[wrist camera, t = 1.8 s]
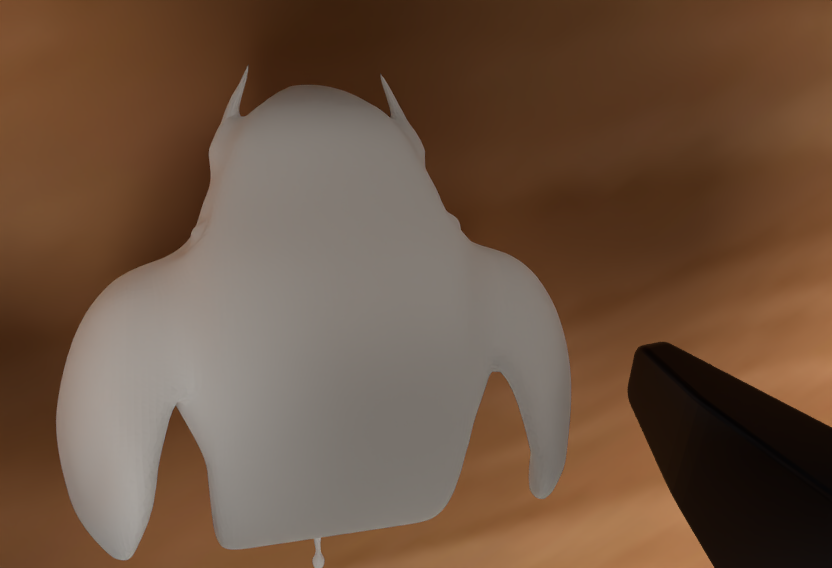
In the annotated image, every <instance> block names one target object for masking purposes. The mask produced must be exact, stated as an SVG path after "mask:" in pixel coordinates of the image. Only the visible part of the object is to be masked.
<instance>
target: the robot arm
mask: <svg viewBox="0 0 832 568" xmlns="http://www.w3.org/2000/svg"><path fill="white" fill-rule="evenodd" d="M628 398H629V402H630V404H631V407H632V409H633V411H634V413H635V416H636V418H637V420H638V422H639V424H640V427H641V429H642V431H643V433H644V435H645V438H646V440H647V442H648V444H649V447H650V449H651V451H652V453H653V455H654V458H655V460H656V462H657V464H658V466H659V469H660V471H661V473H662V475H663V478H664V480H665V482H666V484H667V486H668V488H669V490H670V492H671V494H672V496H673V498H674V499H675V501H676V503H677V505H678V507H679V508H680V510H681V512H682V514H683V515H684V517H685V519H686V520H687V522H688V524H689V525H690V527H691V529H692V531H693V532H694V534H695V536H696V537H697V539H698V541H699V542H700V544H701V546H702V548H703V549H704V551H705V553H706V554H707V556H708V558H709V559H710V561H711V563H712V564H713V566H714V568H832V427H830V426H828V425H826V424H824V423H822V422H820V421H818V420H816V419H814V418H812V417H810V416H808V415H807V414H805V413H803V412H801V411H799V410H797V409H795V408H793V407H791V406H789V405H787V404H785V403H783V402H782V401H780V400H778V399H776V398H774V397H772V396H770V395H768V394H766V393H764V392H762V391H760V390H758V389H757V388H755V387H753V386H751V385H749V384H747V383H745V382H743V381H741V380H739V379H737V378H735V377H733V376H731V375H730V374H728V373H726V372H724V371H722V370H720V369H718V368H716V367H714V366H712V365H710V364H708V363H706V362H705V361H703V360H701V359H699V358H697V357H695V356H693V355H691V354H689V353H687V352H685V351H683V350H681V349H680V348H678V347H676V346H674V345H672V344H670V343H667V342H658V343H652V344H647V345H642V346H640V347H638V349H637V350H636V351H635V354H634V359H633V364H632V369H631V373H630V378H629V383H628Z"/></svg>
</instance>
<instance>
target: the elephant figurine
mask: <svg viewBox="0 0 832 568" xmlns="http://www.w3.org/2000/svg"><path fill="white" fill-rule="evenodd" d="M247 74H248V66H247V68H246V70H245V72H244V74H243V76H242V78H241V81H240V83H239V85H238V86H237V88H236V90H235V91H234V93H233V94H232V96H231V98H230V100H229V103H228V105H227V107H226V110H225V112H224V115H223V119H222V121H221V124H220V126H219V127H218V129H217V131H216V133H215V136H214V138H213V141H212V143H211V145H210V148H209V162H210V171H211V180H210V186H209V189H208V192H207V195H206V197H205V200H204V203H203V205H202V209H201V212H200V215H199V218H198V222H197V224H196V227H195V228H194V229H193V230H192V232H191V237H190V238H189V240H188V241H187V242H186V243H185V244H184V245H183V246H182V247H181V248H179V249H178V250H177V251H175V252H173V253H172V254H170V255H168V256H166V257H164V258H161V259H159V260H156V261H154V262H151V263H148V264H145V265H143V266H140V267H138V268H135V269H133V270H131V271H129V272H127V273H125V274H123V275H122V276H120V277H119V278H117V279H116V280H114V281H113V282H112V283H111V284H110V285H108V286H107V287H106V288H105V289H104V290H103V292H102V293H101V294H100V295H99V296H98V297H97V298H96V300H95V301H94V302H93V303H92V305H91V306H90V308H89V309H88V311H87V312H86V314H85V316H84V317H83V319H82V321H81V323H80V325H79V327H78V329H77V331H76V334H75V336H74V338H73V341H72V344H71V347H70V350H69V353H68V356H67V360H66V363H65V367H64V371H63V376H62V380H61V385H60V391H59V397H58V404H57V412H56V434H57V444H58V450H59V456H60V462H61V467H62V471H63V475H64V479H65V483H66V487H67V490H68V494H69V498H70V500H71V503H72V506H73V508H74V510H75V512H76V514H77V516H78V518H79V520H80V521H81V523H82V524H83V526H84V527H85V528H86V530H87V531H88V532H89V534H90V535H91V536H92V537H93V539H94V540H95V541H96V542H97V543H98V544H99V545H100V546H101V547H102V548H103V549H104V550H105V551H106V552H107V553H108V554H110V555H111V556H112V557H114V558H116V559H119V560H128V559H129V558H131V557H132V556H133V554H134V553H135V551H136V549H137V547H138V544H139V542H140V540H141V538H142V536H143V534H144V531H145V529H146V527H147V524H148V521H149V518H150V514H151V511H152V508H153V504H154V497H155V491H156V484H157V475H158V467H159V461H160V456H161V452H162V447H163V444H164V440H165V435H166V431H167V427H168V423H169V420H170V417H171V414H172V411H173V409H174V407H175V406H177V408H178V410H179V412H180V413H181V415H182V417H183V419H184V420H185V422H186V424H187V426H188V427H189V429H190V431H191V433H192V434H193V436H194V438H195V440H196V442H197V444H198V446H199V448H200V450H201V452H202V454H203V457H204V459H205V463H206V466H207V472H208V483H209V493H210V502H211V510H212V518H213V526H214V531H215V535H216V538H217V540H218V542H219V543H220V545H221V546H222V547H224V548H226V549H246V548H254V547H261V546H267V545H274V544H281V543H287V542H294V541H301V540H307V539H314V543H315V548H316V552H315V556H314V557H313V560H312V563H313V566H314V567H315V568H322V567H323V565H324V557H323V555H322V553H321V546H320V541H321V537H327V536H334V535H341V534H347V533H354V532H361V531H367V530H374V529H381V528H387V527H394V526H401V525H407V524H413V523H418V522H423V521H426V520H429V519H431V518H433V517H435V516H436V515H438V514H439V513H440V512H441V511H442V510H443V509H444V508H445V506H446V505H447V503H448V502H449V500H450V498H451V496H452V494H453V492H454V490H455V487H456V484H457V481H458V478H459V476H460V473H461V470H462V466H463V462H464V458H465V454H466V451H467V448H468V444H469V441H470V436H471V432H472V427H473V424H474V420H475V417H476V414H477V411H478V408H479V405H480V402H481V399H482V396H483V394H484V390H485V388H486V384H487V381H488V378H489V375H490V374H491V373H492V372H493V371H494V372H501V373H502V374H503V375H504V377H505V378H506V379H507V381H508V383H509V385H510V387H511V389H512V391H513V393H514V395H515V398H516V401H517V403H518V406H519V410H520V412H521V416H522V419H523V422H524V426H525V430H526V433H527V438H528V442H529V447H530V451H531V455H530V463H529V487H530V490H531V492H532V494H533V495H534V496H535V497H536V498H539V499H545V498H546V497H547V496H548V495H550V494H551V492H552V491H553V489H554V488H555V486H556V484H557V482H558V480H559V478H560V476H561V474H562V471H563V468H564V464H565V459H566V453H567V445H568V434H569V424H570V412H571V373H570V362H569V355H568V349H567V344H566V340H565V336H564V332H563V328H562V325H561V322H560V319H559V316H558V313H557V311H556V308H555V306H554V304H553V302H552V300H551V298H550V296H549V294H548V293H547V291H546V289H545V288H544V286H543V285H542V283H541V282H540V280H539V279H538V278H537V276H536V275H535V274H534V273H533V272H532V271H531V270H530V269H529V268H528V267H527V266H526V265H525V264H523V263H522V262H521V261H519V260H518V259H516V258H514V257H513V256H511V255H509V254H506V253H504V252H501V251H498V250H495V249H492V248H488V247H485V246H482V245H479V244H476V243H474V242H472V241H470V240H469V239H468V238H467V236H466V235H465V234H464V233H463V232H462V231H461V227H460V223H459V221H458V219H457V218H456V217H455V216H454V215H452V214H450V213H449V212H447V211H446V209H445V207H444V205H443V203H442V201H441V199H440V196H439V194H438V191H437V189H436V187H435V185H434V183H433V182H432V180H431V178H430V176H429V175H428V173H427V171H426V168H425V150H424V147H423V145H422V142H421V140H420V138H419V137H418V135H417V133H416V132H415V130H414V129H413V128H412V126H411V125H410V124H409V122H408V120H407V119H406V117H405V115H404V113H403V111H402V109H401V108H400V106H399V104H398V102H397V100H396V98H395V96H394V95H393V93H392V91H391V89H390V87H389V86H388V84H387V82H386V81H385V79H384V78H383V76H382V75H381V73H380V76H381V82H382V85H383V88H384V91H385V94H386V98H387V101H388V104H389V108H390V113H391V115H390V117H389V116H388V115H386V114H385V113H384V112H383V111H382V110H380V109H379V108H377V107H376V106H374V105H372V104H370V103H368V102H367V101H365V100H363V99H361V98H359V97H357V96H355V95H353V94H351V93H349V92H346V91H343V90H340V89H337V88H333V87H328V86H322V85H295V86H290V87H288V88H286V89H284V90H281V91H279V92H277V93H276V94H275V95H273V96H271V97H270V98H268V99H267V100H266V101H265V102H263V103H262V104H260V105H259V106H257V107H256V108H255V109H254V110H253V111H251V112H250V113H249V114H248V115H246V116H240V113H239V107H240V102H241V97H242V94H243V91H244V87H245V83H246V80H247Z"/></svg>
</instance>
